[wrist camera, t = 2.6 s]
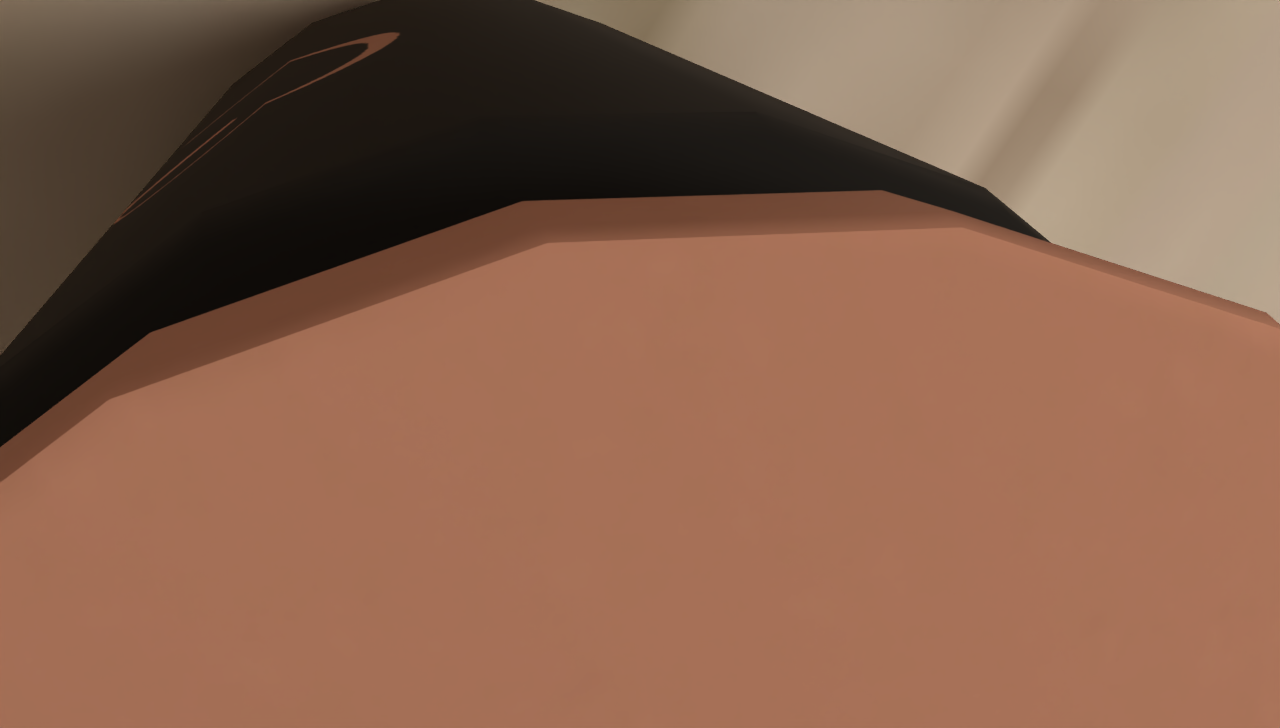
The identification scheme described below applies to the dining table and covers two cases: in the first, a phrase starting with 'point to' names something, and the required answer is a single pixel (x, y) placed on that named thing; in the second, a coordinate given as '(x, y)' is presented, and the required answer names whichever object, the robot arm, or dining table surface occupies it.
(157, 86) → the dining table surface
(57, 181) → the dining table surface
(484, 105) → the coffee jar
